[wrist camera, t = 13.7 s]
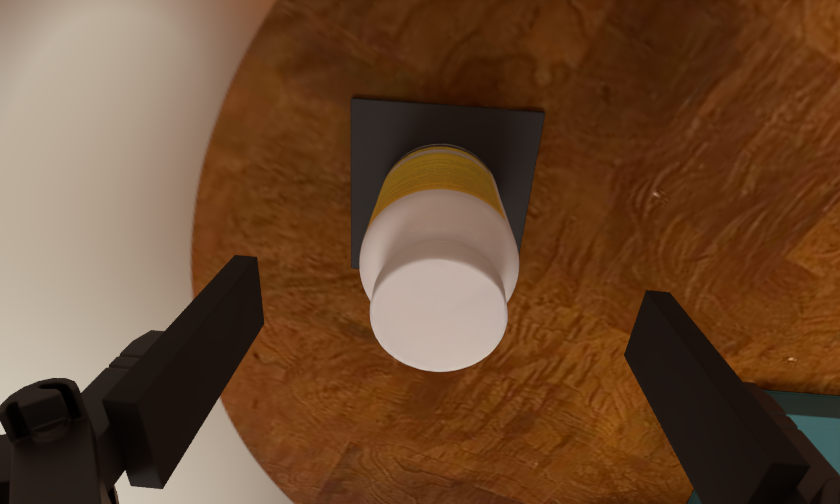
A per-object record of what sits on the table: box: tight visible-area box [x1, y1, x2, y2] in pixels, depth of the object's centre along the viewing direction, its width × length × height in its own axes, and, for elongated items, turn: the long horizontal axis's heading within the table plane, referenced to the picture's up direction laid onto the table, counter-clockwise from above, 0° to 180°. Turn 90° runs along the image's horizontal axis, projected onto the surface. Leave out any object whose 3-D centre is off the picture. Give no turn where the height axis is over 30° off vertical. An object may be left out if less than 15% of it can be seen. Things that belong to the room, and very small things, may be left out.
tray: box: [687, 390, 840, 504], centre depth 34 cm, size 16×16×2 cm
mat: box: [351, 98, 545, 269], centre depth 26 cm, size 10×10×1 cm
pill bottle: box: [359, 144, 519, 372], centre depth 20 cm, size 6×6×12 cm
